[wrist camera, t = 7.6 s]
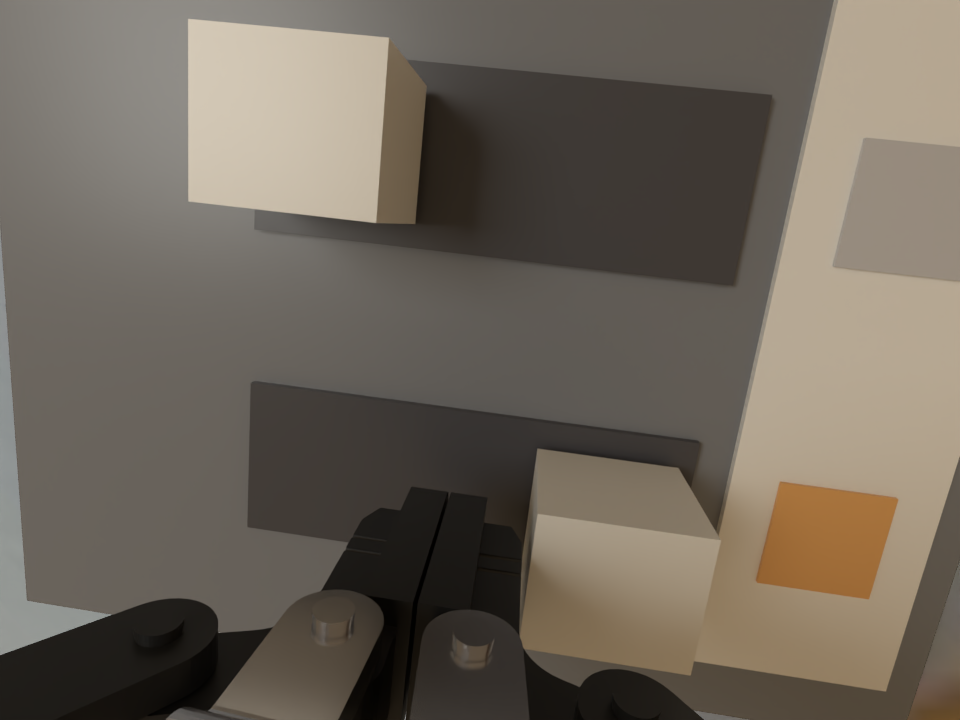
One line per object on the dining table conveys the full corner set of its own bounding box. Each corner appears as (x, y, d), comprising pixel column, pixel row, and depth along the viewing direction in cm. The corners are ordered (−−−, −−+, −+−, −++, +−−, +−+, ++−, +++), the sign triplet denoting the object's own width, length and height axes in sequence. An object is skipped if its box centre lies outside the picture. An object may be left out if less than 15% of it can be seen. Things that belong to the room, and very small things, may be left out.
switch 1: (271, 207, 12) (188, 202, 9) (275, 70, 12) (188, 18, 9) (415, 224, 12) (376, 223, 9) (426, 85, 11) (389, 37, 9)
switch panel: (83, 558, 18) (17, 607, 15) (34, -498, 12) (-80, -663, 10) (855, 681, 16) (906, 754, 14) (1196, -458, 11) (1371, -640, 8)
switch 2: (522, 556, 13) (518, 647, 10) (537, 448, 13) (537, 513, 10) (656, 576, 13) (690, 675, 10) (678, 468, 13) (721, 540, 10)
